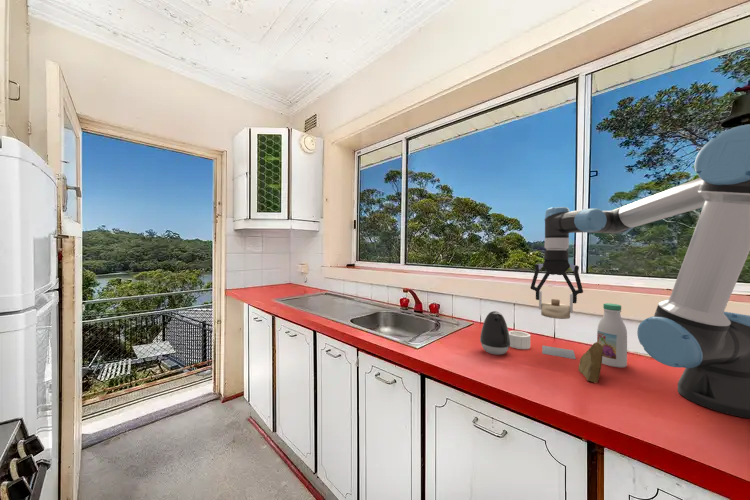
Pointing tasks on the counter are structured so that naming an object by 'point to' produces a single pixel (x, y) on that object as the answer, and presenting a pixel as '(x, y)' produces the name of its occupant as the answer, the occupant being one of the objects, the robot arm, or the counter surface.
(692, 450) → the counter surface
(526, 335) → the bowl
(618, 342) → the milk bottle
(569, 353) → the mat
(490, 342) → the black egg-shaped device
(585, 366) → the rock
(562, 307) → the lid
